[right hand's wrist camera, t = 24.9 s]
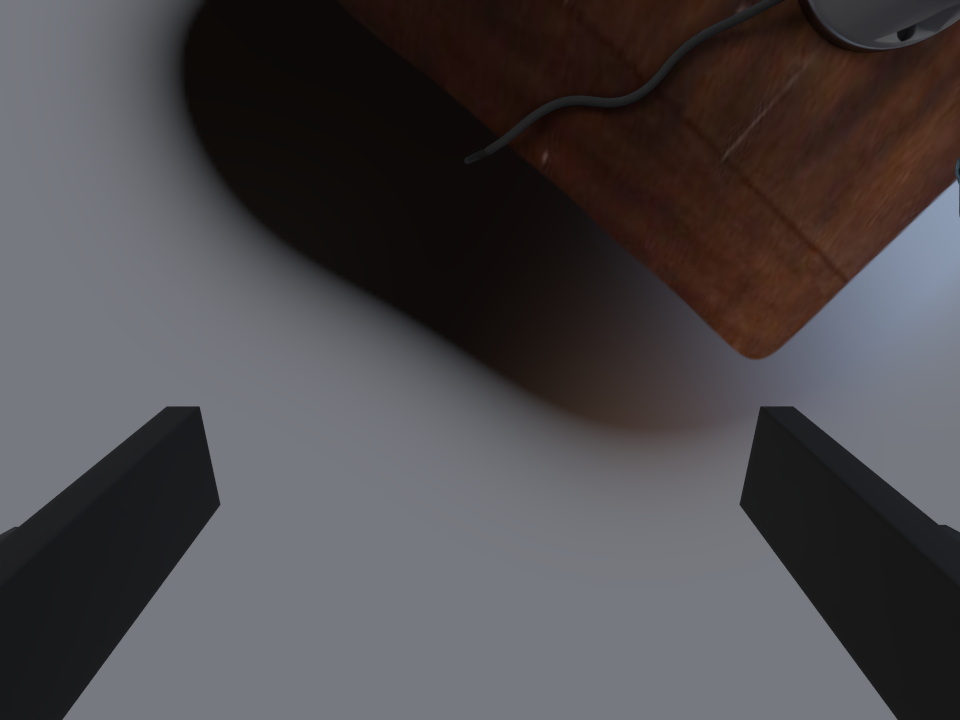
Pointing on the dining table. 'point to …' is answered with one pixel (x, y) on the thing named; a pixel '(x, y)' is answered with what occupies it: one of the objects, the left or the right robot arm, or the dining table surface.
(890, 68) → the dining table surface
